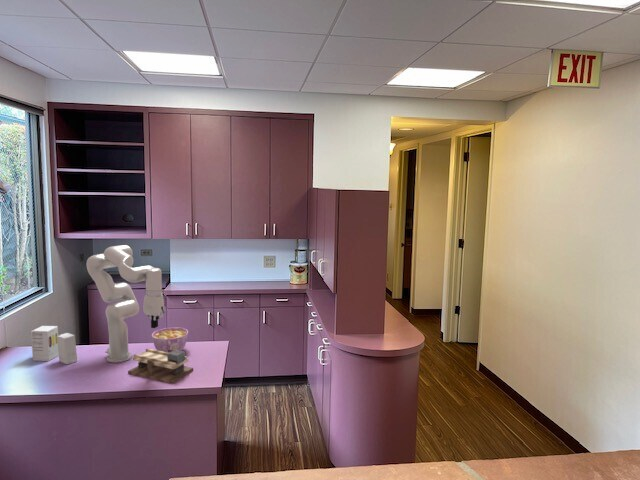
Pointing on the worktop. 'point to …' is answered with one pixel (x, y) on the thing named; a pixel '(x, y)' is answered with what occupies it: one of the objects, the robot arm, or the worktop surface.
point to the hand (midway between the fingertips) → (154, 327)
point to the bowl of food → (170, 339)
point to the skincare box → (67, 348)
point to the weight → (176, 356)
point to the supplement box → (44, 343)
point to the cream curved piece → (157, 358)
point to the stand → (160, 371)
